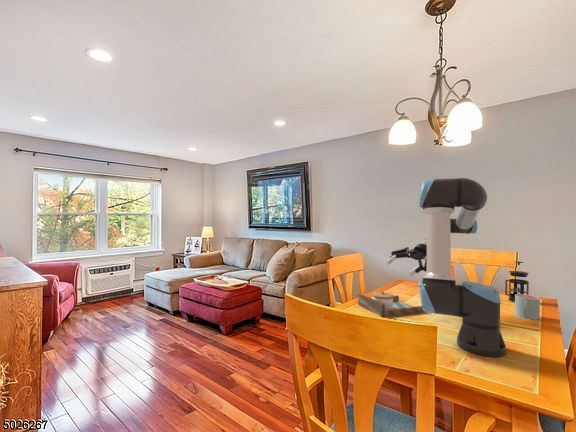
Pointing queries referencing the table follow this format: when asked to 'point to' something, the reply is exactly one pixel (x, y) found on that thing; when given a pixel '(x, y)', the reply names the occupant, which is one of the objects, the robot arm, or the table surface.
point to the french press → (521, 282)
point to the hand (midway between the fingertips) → (398, 268)
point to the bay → (380, 310)
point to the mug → (527, 306)
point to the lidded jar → (383, 298)
